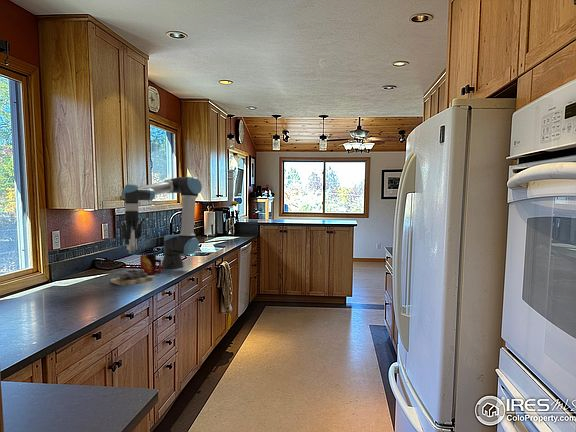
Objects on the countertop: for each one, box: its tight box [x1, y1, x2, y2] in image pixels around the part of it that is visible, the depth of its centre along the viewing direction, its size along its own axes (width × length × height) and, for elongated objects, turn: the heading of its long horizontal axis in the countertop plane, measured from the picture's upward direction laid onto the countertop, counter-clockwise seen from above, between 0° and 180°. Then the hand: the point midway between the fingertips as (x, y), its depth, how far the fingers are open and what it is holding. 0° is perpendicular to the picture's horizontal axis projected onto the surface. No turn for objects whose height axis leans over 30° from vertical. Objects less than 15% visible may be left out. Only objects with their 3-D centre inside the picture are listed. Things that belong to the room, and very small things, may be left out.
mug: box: [139, 254, 162, 276], centre depth 253 cm, size 10×14×12 cm
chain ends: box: [110, 268, 154, 287], centre depth 231 cm, size 19×14×6 cm
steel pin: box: [128, 228, 136, 254], centre depth 230 cm, size 4×4×14 cm
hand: (131, 249), depth 230 cm, fingers closed on steel pin, 3 cm apart
